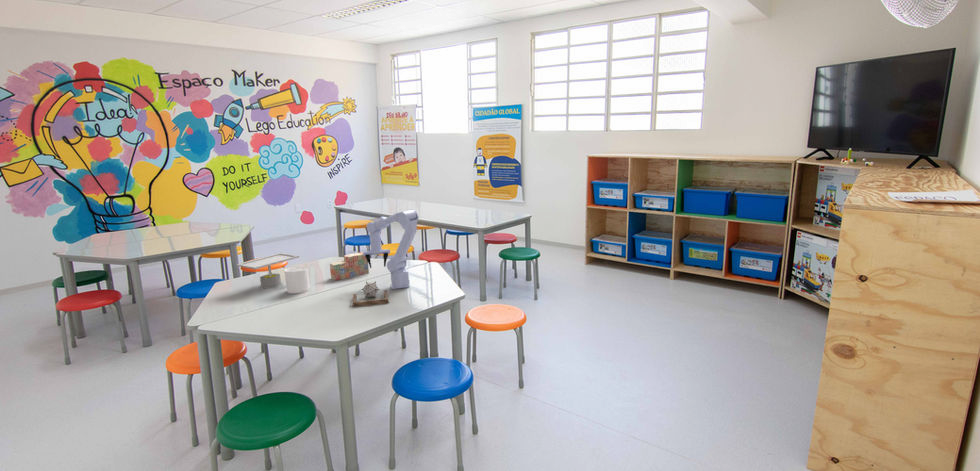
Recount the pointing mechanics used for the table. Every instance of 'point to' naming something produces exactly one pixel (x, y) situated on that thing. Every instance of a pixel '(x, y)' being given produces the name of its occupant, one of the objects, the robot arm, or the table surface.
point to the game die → (370, 289)
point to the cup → (297, 279)
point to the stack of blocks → (349, 266)
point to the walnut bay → (370, 301)
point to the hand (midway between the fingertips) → (377, 267)
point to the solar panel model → (269, 279)
